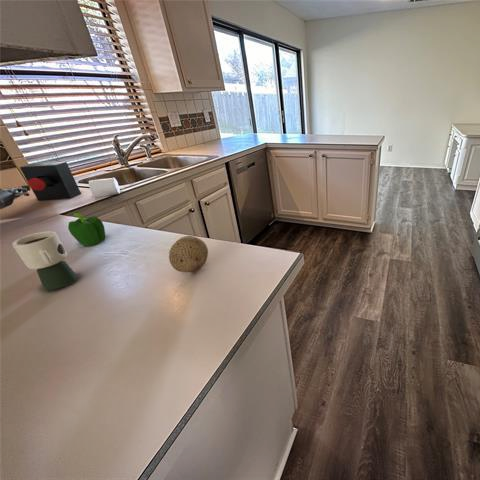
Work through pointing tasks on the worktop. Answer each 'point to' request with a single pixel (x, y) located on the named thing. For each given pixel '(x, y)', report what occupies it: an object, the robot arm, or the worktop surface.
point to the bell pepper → (87, 230)
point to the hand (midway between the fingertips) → (27, 187)
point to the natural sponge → (188, 254)
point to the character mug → (46, 259)
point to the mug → (104, 187)
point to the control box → (52, 180)
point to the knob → (39, 183)
